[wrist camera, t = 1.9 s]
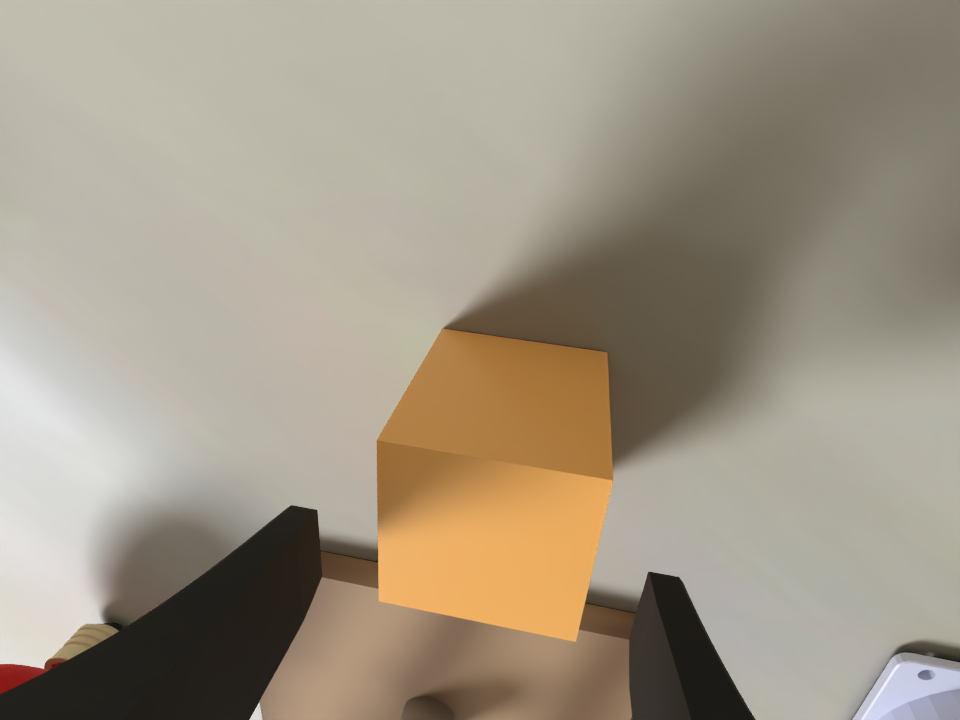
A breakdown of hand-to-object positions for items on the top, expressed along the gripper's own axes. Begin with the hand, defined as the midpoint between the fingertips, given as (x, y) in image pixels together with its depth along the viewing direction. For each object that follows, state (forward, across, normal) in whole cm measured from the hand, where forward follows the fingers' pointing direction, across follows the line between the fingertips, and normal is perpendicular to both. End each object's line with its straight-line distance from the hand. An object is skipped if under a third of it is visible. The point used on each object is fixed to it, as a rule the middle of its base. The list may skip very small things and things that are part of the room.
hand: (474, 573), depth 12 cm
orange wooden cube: (+7, 0, 0) cm, 7 cm away
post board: (+7, +2, +15) cm, 17 cm away
